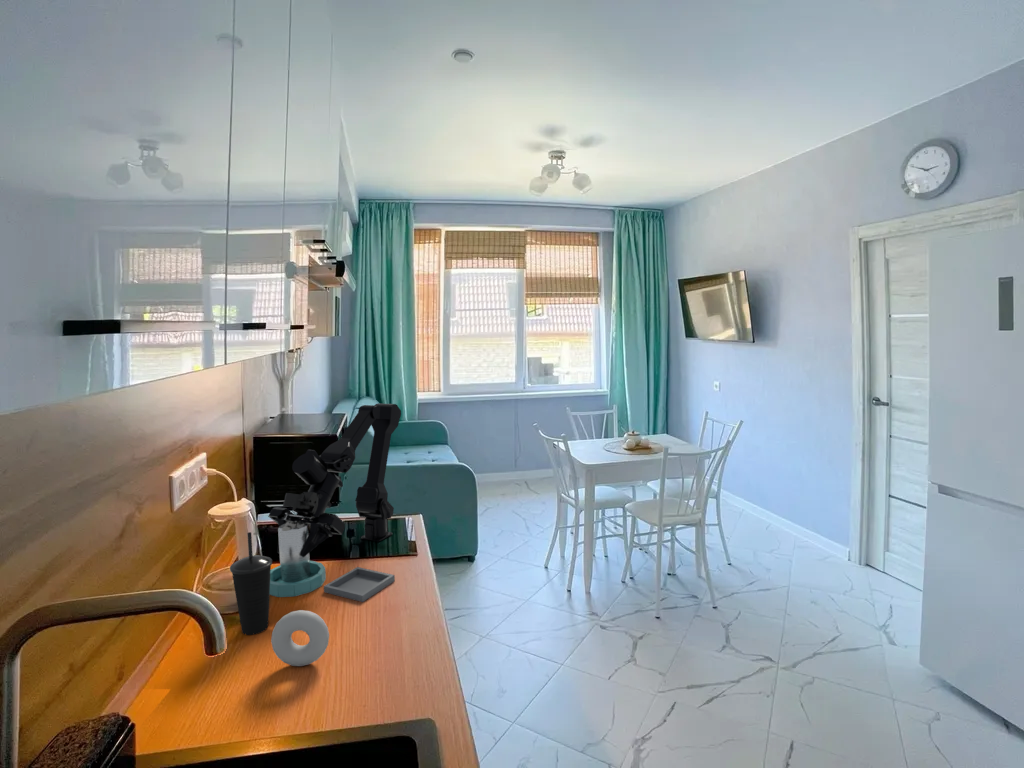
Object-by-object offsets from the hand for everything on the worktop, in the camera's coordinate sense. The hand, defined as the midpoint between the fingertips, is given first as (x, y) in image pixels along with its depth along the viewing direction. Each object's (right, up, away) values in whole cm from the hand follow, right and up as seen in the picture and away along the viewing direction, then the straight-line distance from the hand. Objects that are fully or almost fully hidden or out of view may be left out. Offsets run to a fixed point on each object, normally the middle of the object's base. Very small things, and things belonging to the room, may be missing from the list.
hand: (290, 554), depth 127 cm
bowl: (+1, -8, +2) cm, 8 cm away
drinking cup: (0, -10, -16) cm, 19 cm away
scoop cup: (+1, -6, +2) cm, 6 cm away
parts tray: (+16, -8, 0) cm, 18 cm away
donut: (+14, -11, -29) cm, 34 cm away
